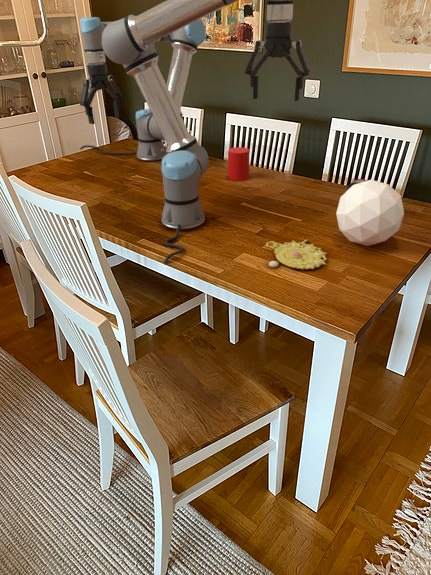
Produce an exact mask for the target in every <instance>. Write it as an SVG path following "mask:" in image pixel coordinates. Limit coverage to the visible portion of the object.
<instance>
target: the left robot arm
mask: <svg viewBox="0 0 431 575" xmlns="http://www.w3.org/2000/svg"><path fill="white" fill-rule="evenodd" d="M111 22H112V21H101V19H100V17H98V16H92V17H91V16H90V17H89V16H88V17H87V16H86V17H81V18H80V20H79V26H80V33H81V39H82V44H83V49H84V57H85V63H86V64H87V65H86V69H87V75H88V77H89V79H88V78H83V79H82V90H81V95H80V100H79V106H82V107H84V110H85V115H86V116H87V119H88V124H90V125H95V124H96V123H95V117H94V111H93V110H94V109H93V106H91V105H92V102H93V100H94V98H95V95H96V93H97V92H98V91H101V90H105V91H106V92H107V93H108V94H109V95H110V97H111V98H112V99H113V101H112V105H113V112H114V117H115V118H117V119H121V101H122V99H124V96H123V93H122V92H121V89H120V88H119V86H118V84H117V82H116V79H115V76H114V75H113V74H108V66H107V64H106V62H107V60H106V54H105V52H104V50H103V47H102V34H103V31H104V29H105V28H106V26H107V25H108V24H110V23H111ZM206 29H207V28H206V25H205V23H204V21H203V18H201V19H199V20H197V21H195V22H193V23H191V24H189V25H187V26H185V27H183V28H181V29H179V30H177V31H175V32H173V33H171V34H169V35H167V36H165V37H163V38H161V39H159V40H157V41H155V43H167V44H171V47H172V48H173V51H172V56H171V61H170V66H169V71H168V75H167V80H166V85H167V87H168V89H169V91H170V94H171V96H172V98H173V100H174V102H175V104H176V107H177V109H178V111H179V113H180V115H181V117H182V120H183V122H184V123H185V120H184V119H183V115H184V114H183V112H182V106H183V105H182V104H183V100H184V95H185V91H186V86H187V83H188V82H187V81H188V77H189V72H190V67H191V63H192V58H193V55H194V54H196V53H197V52H198V47H199V46H201V45H202V44H203V43H204V42H205V39H206V37H207V36H206V35H207V30H206ZM135 124H136V132H137V139H138V146H137V151H131V152H130V151H129V152H112V151H111V152H110V151H103V150H102V149H101V147H100V146H95V145H88V144H87V145H85V144H84V145H82V146H81V147H80V148H79V150H80V151H81V150H83V149H84V148H92V149H97V150H98V151H99V153H101V154H105V155H120V156H121V155H135V154H136V159H137V160H138V161H141V162H158V161H162V159H163V157H164V156H165V155H167V153H166V148H165V145H164V142H166V141H165V139H164V137H163V135H162V133H161V131H160V129H159V127H158V125H157V123H156V121H155V119H154V117H153V115H152V113H151V111H150V109H149V108H144V109H140V110H137V111H136V112H135ZM163 141H164V142H163Z"/></svg>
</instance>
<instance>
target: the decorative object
mask: <svg viewBox="0 0 431 575" xmlns="http://www.w3.org/2000/svg"><path fill="white" fill-rule="evenodd" d="M307 242H308V239H307V238H306V239H305V240H303V241H301V242H296V241H295V240H291V242H284V243H279V242H278V243H277V242H276V241H272V240H271V241H267V242H266V243H265V246H266V247H267V248H269V249H270V248H271V249H272V250H273V255H275V257H276V259H277V260H276V261H275V260H271V261H269V262H268V267H270V268H278V267H279V264H280V263H281V264H283V265H285V266H286V267H289V268H293V269H297V270H298V269H299V270H314V269H316V268H320V267H321V266H322V265H326V263H327V262H325V261H327V260H328V258H327V257H326V255H327V254H328V253H327V251H325V252H324V251H323V250H322V248H321V247H317V246H316V245H315V244H314V243H311V244H308V243H307ZM270 244H272V245H270ZM322 258H323V259H322Z"/></svg>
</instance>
